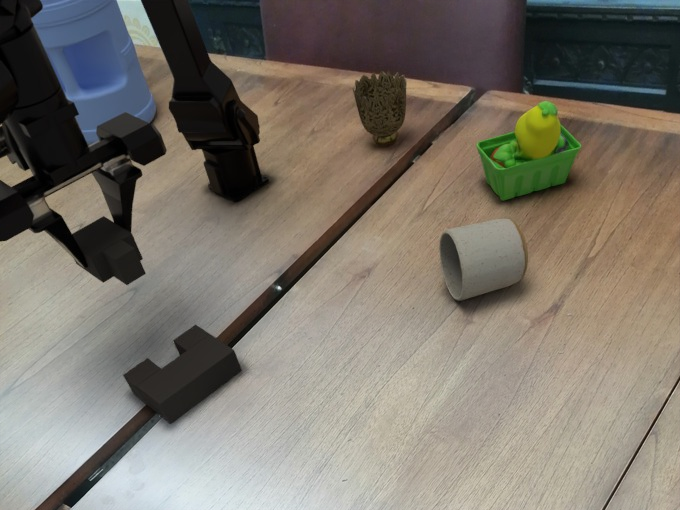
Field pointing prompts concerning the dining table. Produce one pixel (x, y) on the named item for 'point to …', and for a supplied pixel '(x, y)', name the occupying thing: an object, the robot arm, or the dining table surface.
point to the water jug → (94, 61)
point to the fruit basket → (529, 154)
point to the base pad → (184, 374)
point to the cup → (381, 105)
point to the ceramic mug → (482, 257)
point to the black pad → (109, 251)
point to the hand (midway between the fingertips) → (106, 253)
